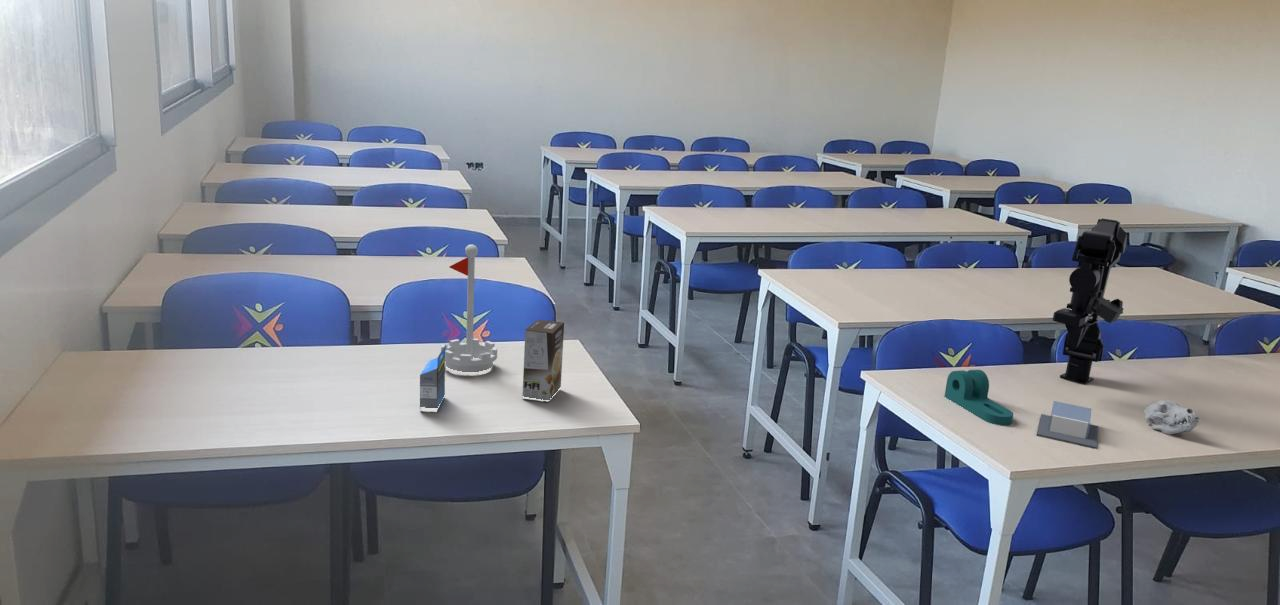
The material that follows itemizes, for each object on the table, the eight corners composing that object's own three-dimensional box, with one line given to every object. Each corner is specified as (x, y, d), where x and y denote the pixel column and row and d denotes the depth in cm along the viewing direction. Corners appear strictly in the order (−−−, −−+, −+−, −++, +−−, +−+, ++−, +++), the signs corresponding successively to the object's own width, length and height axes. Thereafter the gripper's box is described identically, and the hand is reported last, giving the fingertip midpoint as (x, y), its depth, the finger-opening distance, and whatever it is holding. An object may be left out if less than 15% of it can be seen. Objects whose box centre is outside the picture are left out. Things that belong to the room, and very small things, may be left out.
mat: (1040, 415, 217) (1041, 413, 217) (1097, 427, 212) (1097, 425, 212) (1036, 435, 205) (1036, 433, 204) (1096, 448, 200) (1096, 447, 199)
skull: (1158, 407, 220) (1198, 388, 210) (1170, 443, 216) (1212, 426, 206) (1131, 406, 218) (1171, 387, 207) (1144, 443, 214) (1185, 425, 203)
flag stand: (488, 357, 230) (491, 238, 222) (503, 375, 218) (507, 250, 210) (435, 361, 224) (436, 239, 216) (447, 379, 213) (449, 251, 205)
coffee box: (549, 403, 203) (552, 333, 199) (521, 399, 204) (524, 329, 200) (561, 389, 212) (564, 321, 208) (534, 385, 213) (537, 318, 209)
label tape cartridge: (427, 396, 202) (427, 342, 199) (445, 397, 202) (446, 343, 199) (419, 412, 194) (419, 355, 190) (437, 413, 194) (438, 357, 191)
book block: (1053, 400, 216) (1050, 415, 206) (1091, 408, 212) (1090, 423, 203) (1050, 415, 216) (1047, 430, 207) (1088, 423, 213) (1087, 439, 203)
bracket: (944, 397, 225) (949, 366, 223) (967, 396, 227) (972, 365, 225) (993, 427, 208) (999, 394, 206) (1018, 425, 210) (1024, 392, 208)
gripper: (1106, 297, 211) (1093, 363, 215) (1136, 287, 224) (1123, 349, 228) (1057, 286, 219) (1045, 349, 223) (1089, 277, 232) (1077, 337, 236)
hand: (1074, 346), depth 227 cm, fingers closed
